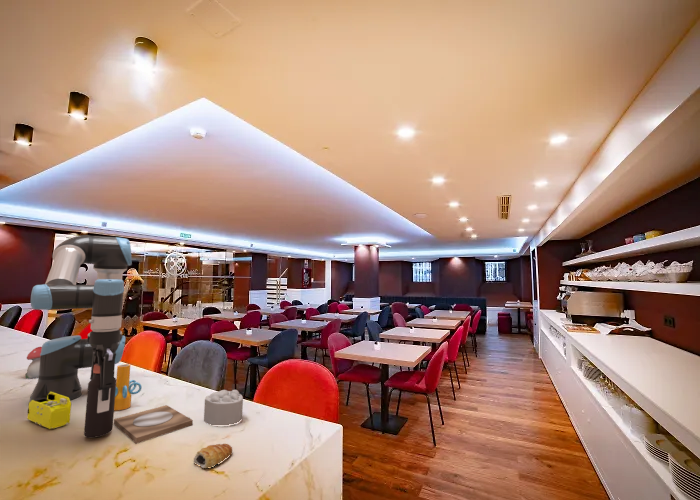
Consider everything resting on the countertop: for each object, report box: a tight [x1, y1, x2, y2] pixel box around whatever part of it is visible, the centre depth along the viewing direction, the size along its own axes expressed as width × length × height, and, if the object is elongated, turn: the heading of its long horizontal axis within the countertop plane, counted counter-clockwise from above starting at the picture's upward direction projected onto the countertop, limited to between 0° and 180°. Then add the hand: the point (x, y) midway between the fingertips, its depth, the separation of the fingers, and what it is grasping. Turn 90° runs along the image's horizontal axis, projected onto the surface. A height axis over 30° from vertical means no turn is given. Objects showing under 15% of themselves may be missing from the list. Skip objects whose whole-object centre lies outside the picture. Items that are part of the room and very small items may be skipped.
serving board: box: [113, 404, 194, 444], centre depth 106 cm, size 20×16×2 cm
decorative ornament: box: [24, 346, 42, 379], centre depth 158 cm, size 9×6×15 cm
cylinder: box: [114, 363, 142, 412], centre depth 120 cm, size 12×10×15 cm
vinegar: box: [83, 364, 117, 439], centre depth 98 cm, size 7×7×20 cm
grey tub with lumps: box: [203, 389, 244, 426], centre depth 110 cm, size 10×13×9 cm
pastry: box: [193, 443, 233, 469], centre depth 85 cm, size 9×7×4 cm
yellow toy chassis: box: [27, 392, 72, 430], centre depth 106 cm, size 16×6×8 cm, turn 63°
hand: (99, 408), depth 98 cm, fingers closed on vinegar, 6 cm apart
